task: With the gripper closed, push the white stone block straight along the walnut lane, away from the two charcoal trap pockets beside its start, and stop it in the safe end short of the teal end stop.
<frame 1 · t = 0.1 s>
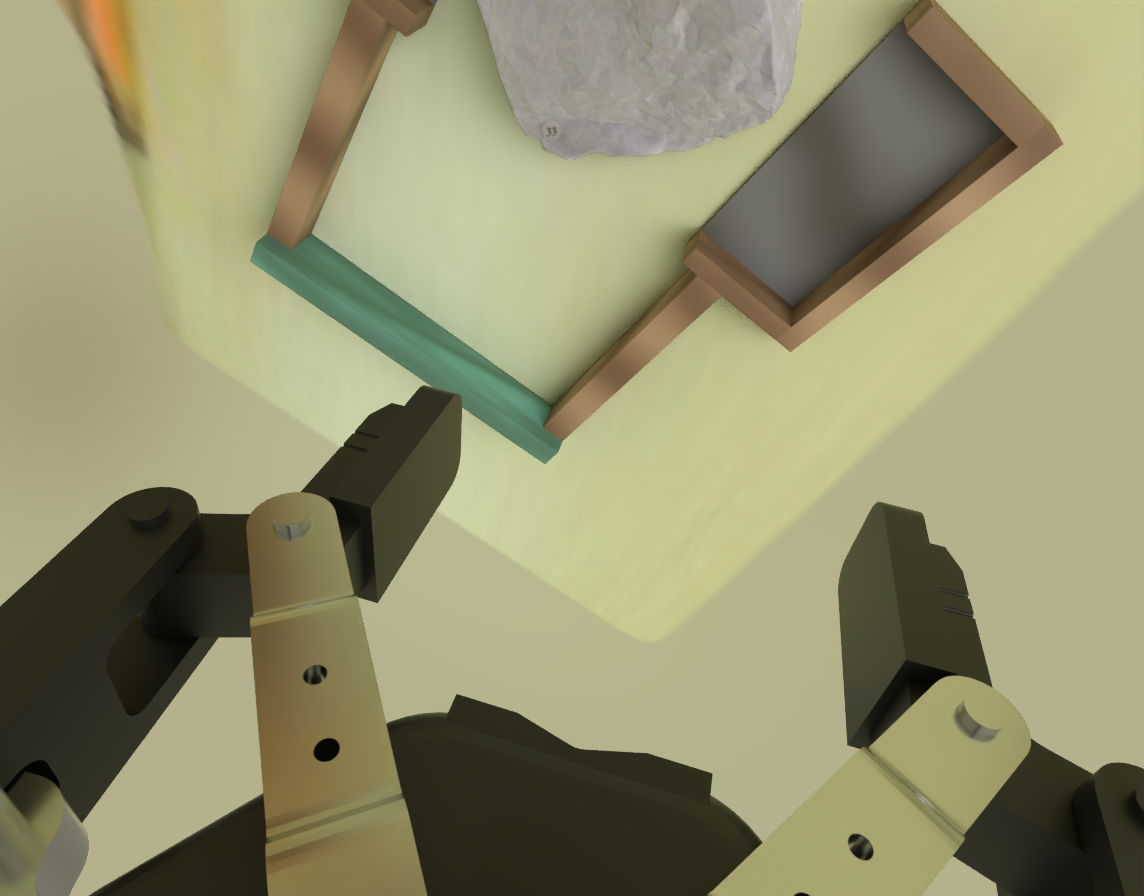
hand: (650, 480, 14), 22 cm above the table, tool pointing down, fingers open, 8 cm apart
stone block: (646, 13, 28), on the table
trap lane: (552, 156, 33), on the table
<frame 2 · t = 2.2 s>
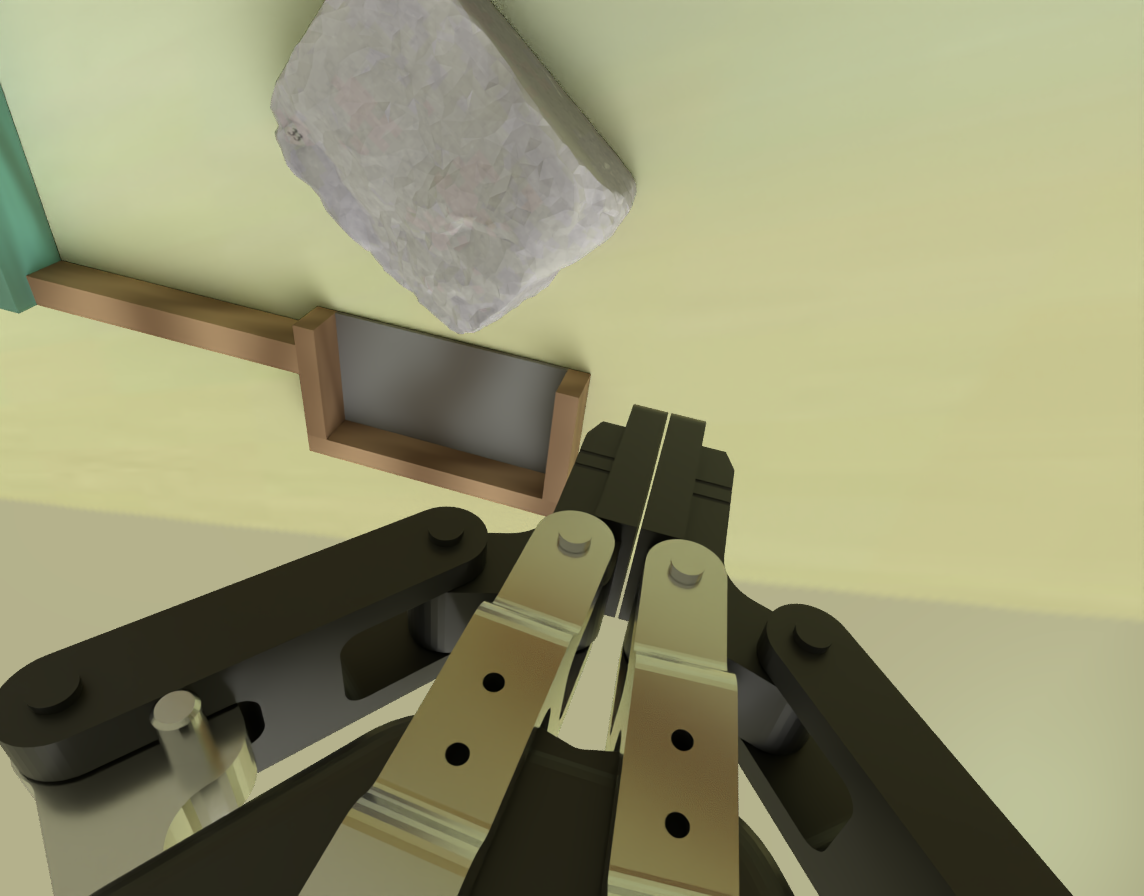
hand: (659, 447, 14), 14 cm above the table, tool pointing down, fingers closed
stone block: (460, 152, 27), on the table
trap lane: (274, 128, 28), on the table
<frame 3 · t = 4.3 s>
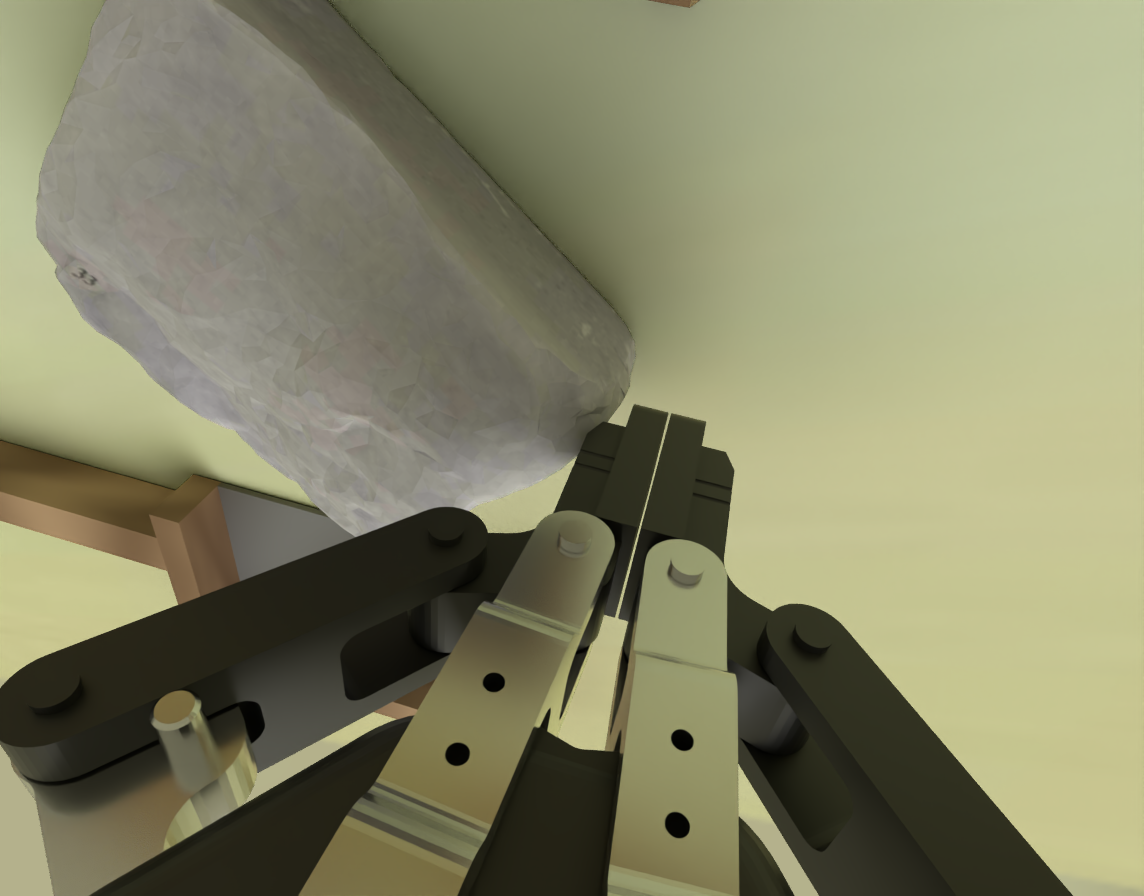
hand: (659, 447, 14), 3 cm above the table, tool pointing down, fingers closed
stone block: (362, 283, 17), on the table
trap lane: (100, 244, 18), on the table
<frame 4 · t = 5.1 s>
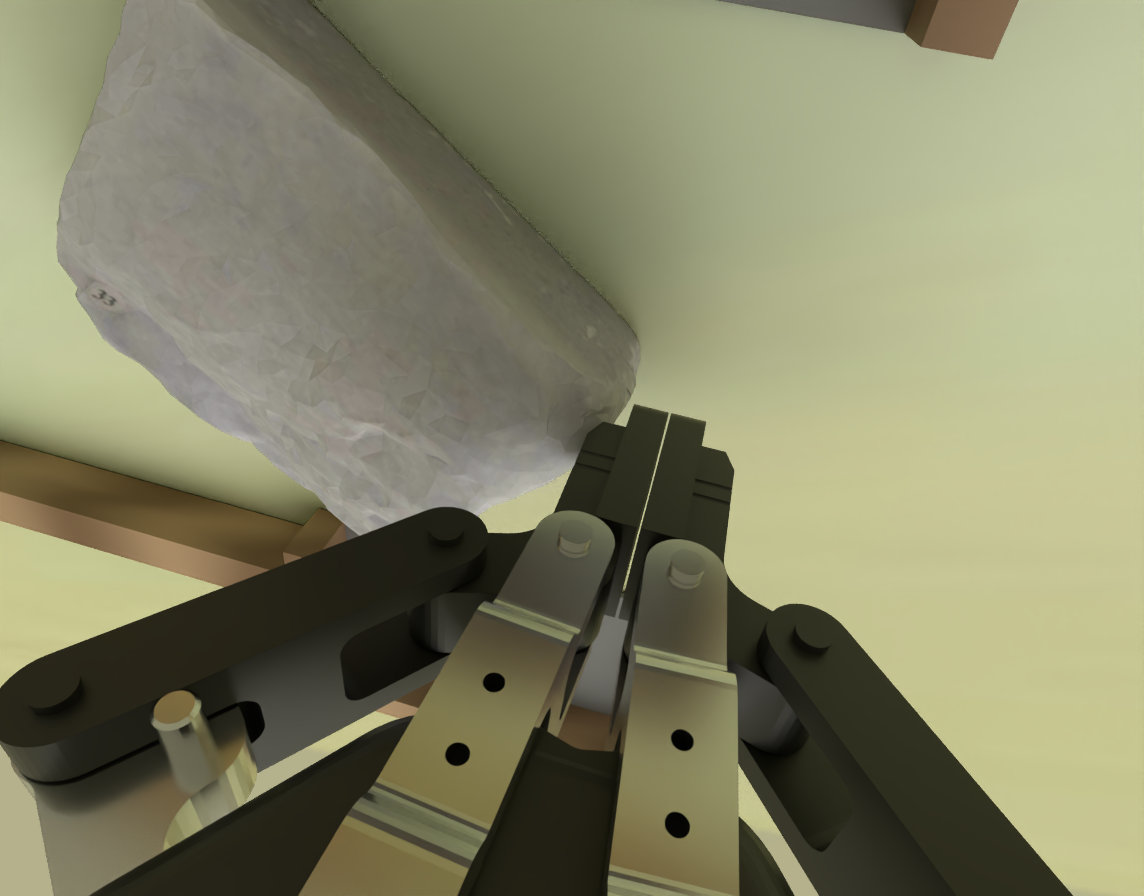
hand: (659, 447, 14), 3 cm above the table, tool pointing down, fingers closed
stone block: (372, 294, 18), on the table, touching gripper
trap lane: (254, 280, 18), on the table
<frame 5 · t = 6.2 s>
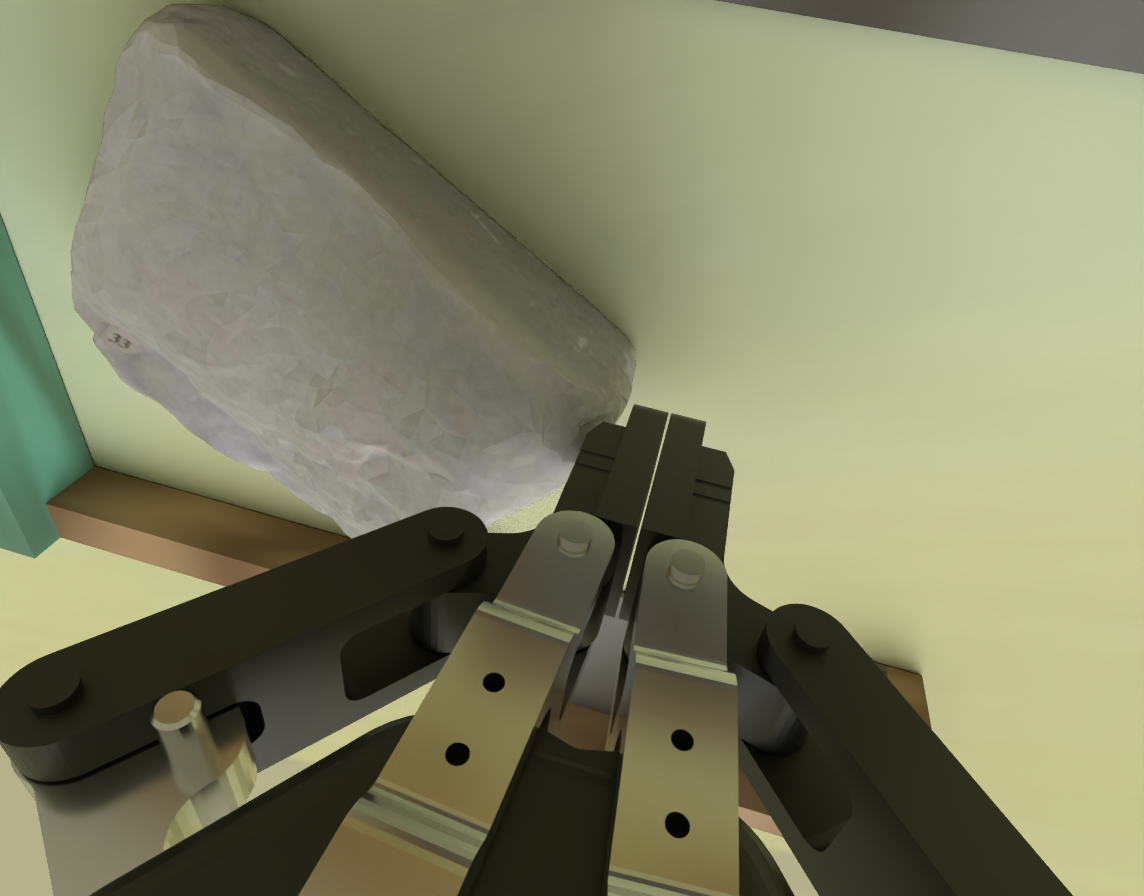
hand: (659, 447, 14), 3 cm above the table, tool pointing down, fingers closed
stone block: (374, 320, 18), on the table, touching gripper
trap lane: (465, 330, 17), on the table
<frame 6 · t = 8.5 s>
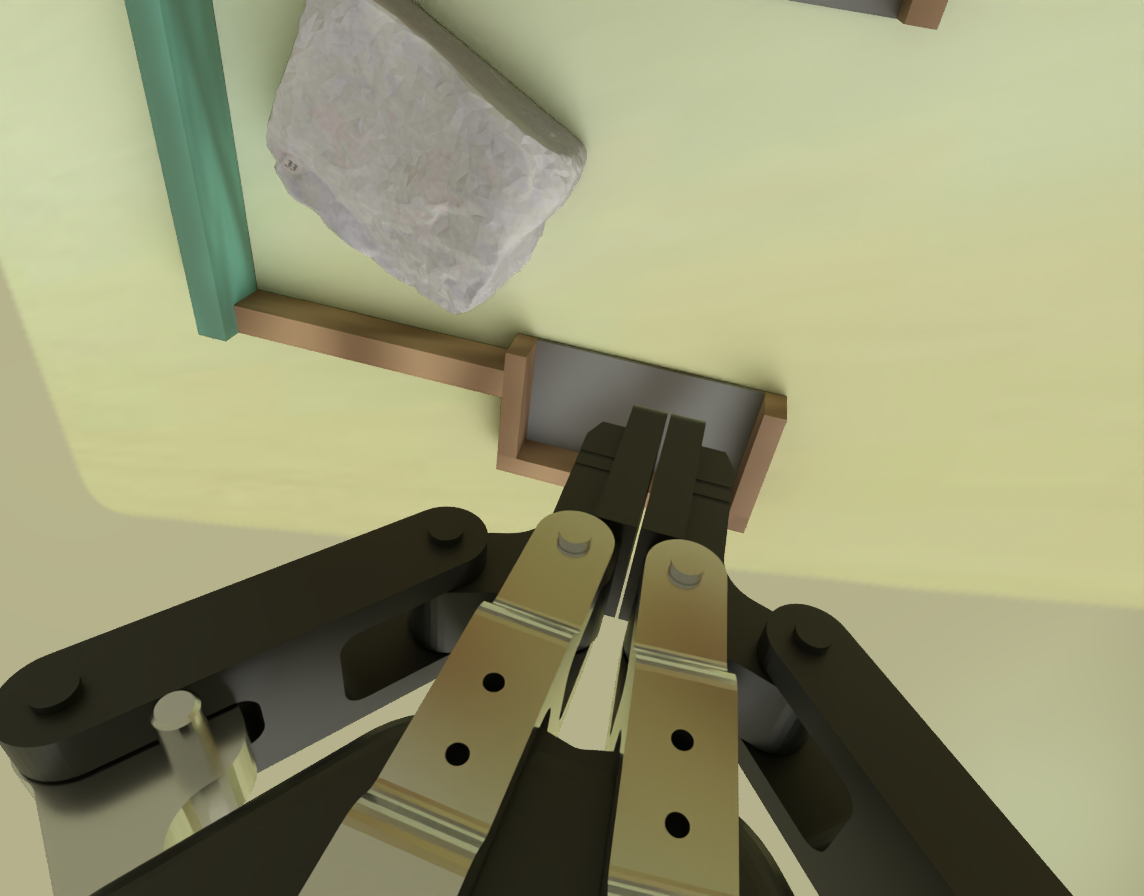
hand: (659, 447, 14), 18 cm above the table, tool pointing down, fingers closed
stone block: (433, 155, 31), on the table
trap lane: (509, 170, 30), on the table
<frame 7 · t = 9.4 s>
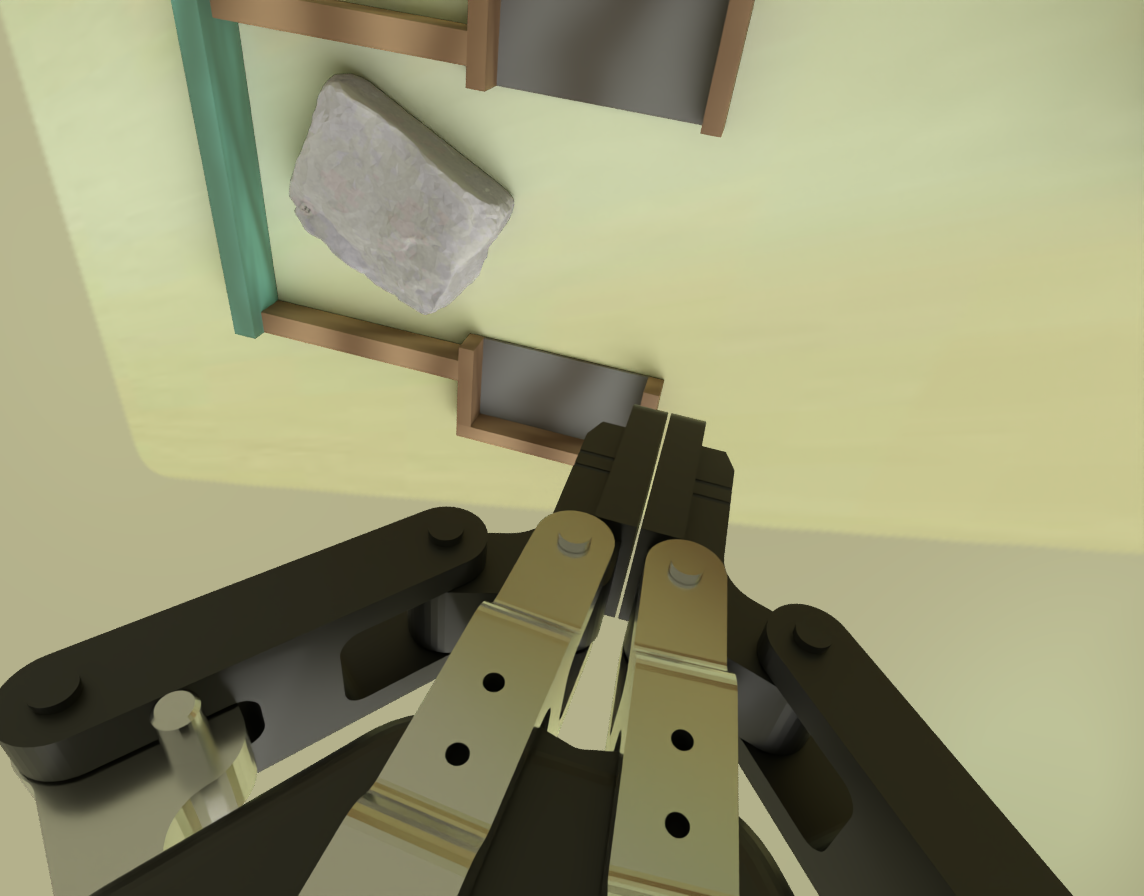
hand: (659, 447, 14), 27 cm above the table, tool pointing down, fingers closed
stone block: (408, 200, 43), on the table
trap lane: (458, 217, 42), on the table
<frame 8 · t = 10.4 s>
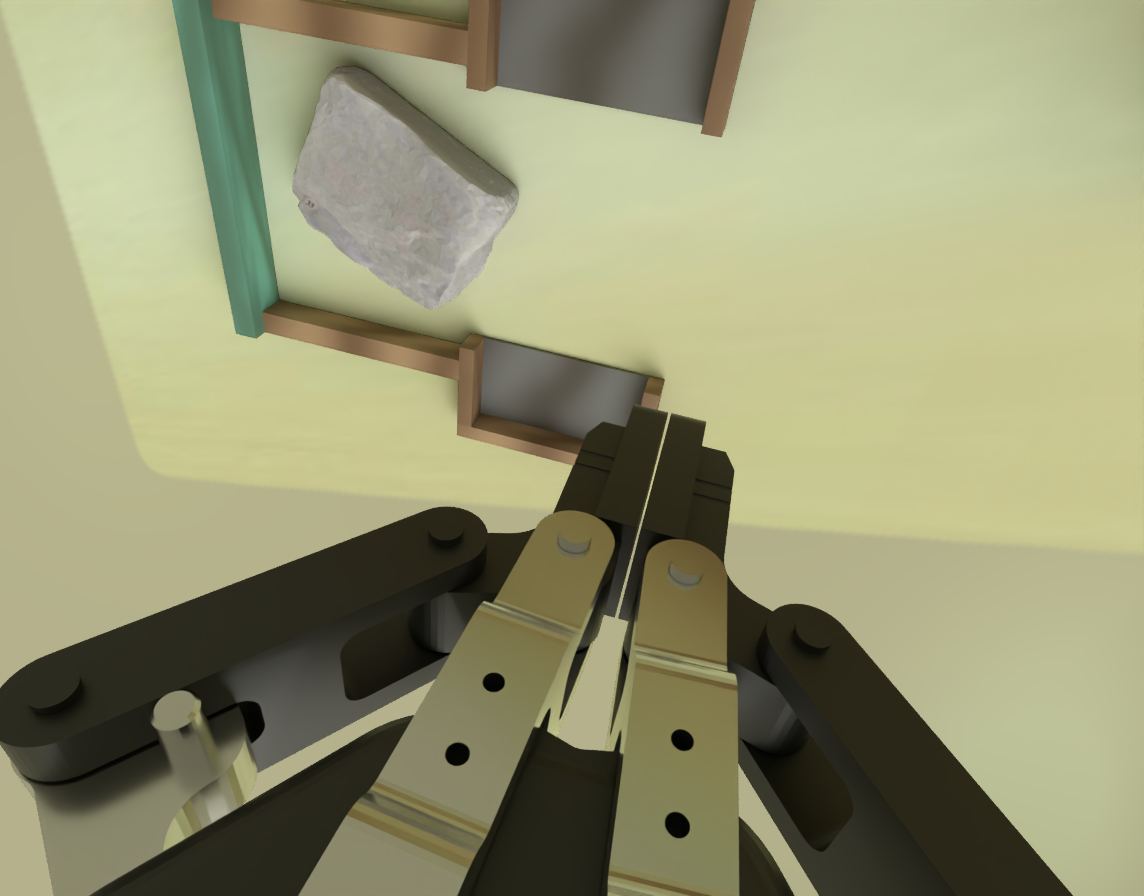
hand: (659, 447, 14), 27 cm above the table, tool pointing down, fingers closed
stone block: (412, 194, 42), on the table
trap lane: (459, 217, 42), on the table
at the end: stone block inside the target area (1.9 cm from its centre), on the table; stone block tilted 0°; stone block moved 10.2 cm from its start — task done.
